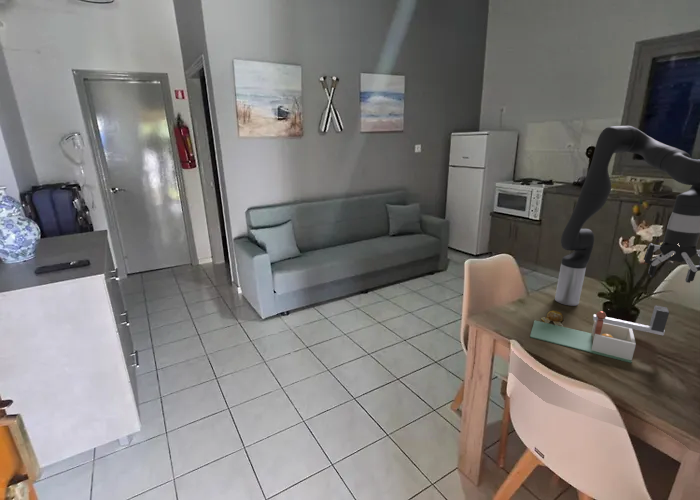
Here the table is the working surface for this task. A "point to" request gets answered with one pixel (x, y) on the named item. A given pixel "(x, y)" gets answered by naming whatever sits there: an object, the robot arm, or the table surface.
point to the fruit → (553, 318)
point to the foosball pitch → (590, 339)
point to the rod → (655, 327)
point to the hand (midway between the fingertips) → (669, 279)
